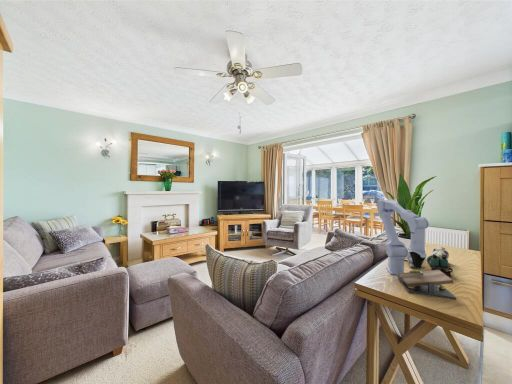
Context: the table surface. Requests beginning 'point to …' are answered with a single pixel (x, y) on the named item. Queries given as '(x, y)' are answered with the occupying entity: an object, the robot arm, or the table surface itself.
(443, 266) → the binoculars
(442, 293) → the leveling stand
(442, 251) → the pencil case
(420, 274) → the instrument plate
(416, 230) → the robot arm
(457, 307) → the table surface
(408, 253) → the round bodied animal figurine
